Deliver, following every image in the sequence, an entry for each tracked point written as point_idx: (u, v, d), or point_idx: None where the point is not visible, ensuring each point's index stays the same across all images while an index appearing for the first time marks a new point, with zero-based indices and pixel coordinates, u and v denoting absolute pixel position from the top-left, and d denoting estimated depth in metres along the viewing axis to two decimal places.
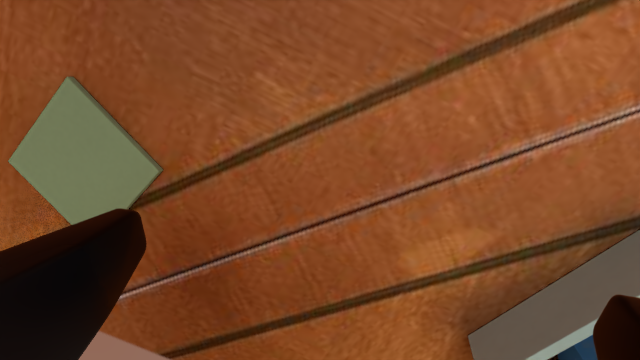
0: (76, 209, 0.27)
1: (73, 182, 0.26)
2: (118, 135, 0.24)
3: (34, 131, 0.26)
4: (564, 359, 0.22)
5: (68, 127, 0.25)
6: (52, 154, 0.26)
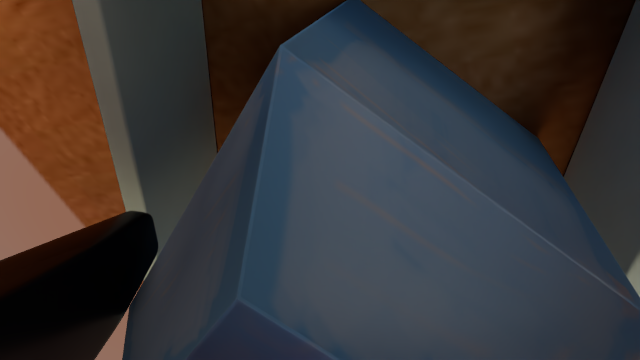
0: None
1: None
2: None
3: None
4: None
5: None
6: None
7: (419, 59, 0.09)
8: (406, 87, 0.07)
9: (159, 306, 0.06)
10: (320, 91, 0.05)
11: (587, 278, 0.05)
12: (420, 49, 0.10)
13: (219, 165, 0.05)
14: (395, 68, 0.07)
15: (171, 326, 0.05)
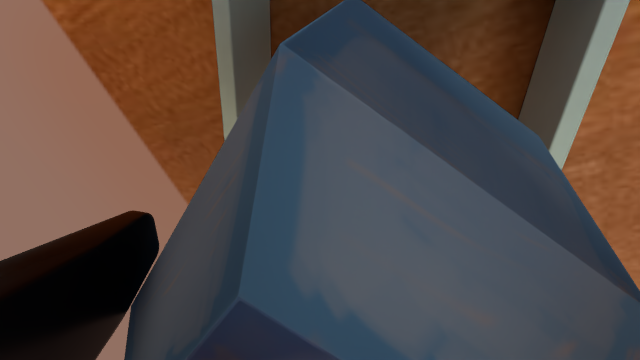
0: None
1: None
2: None
3: None
4: None
5: None
6: None
7: (419, 57, 0.09)
8: (406, 85, 0.07)
9: (161, 305, 0.06)
10: (320, 89, 0.05)
11: (588, 274, 0.05)
12: (420, 47, 0.10)
13: (220, 164, 0.05)
14: (395, 66, 0.07)
15: (173, 325, 0.05)
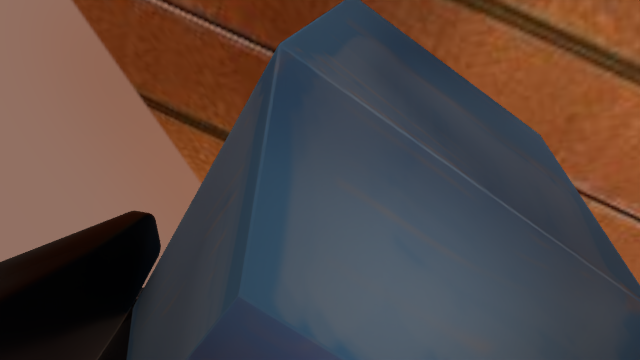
0: None
1: None
2: None
3: None
4: None
5: None
6: None
7: (419, 57, 0.09)
8: (406, 85, 0.07)
9: (162, 307, 0.06)
10: (319, 90, 0.05)
11: (591, 273, 0.05)
12: (420, 47, 0.10)
13: (220, 165, 0.05)
14: (395, 66, 0.07)
15: (174, 326, 0.05)
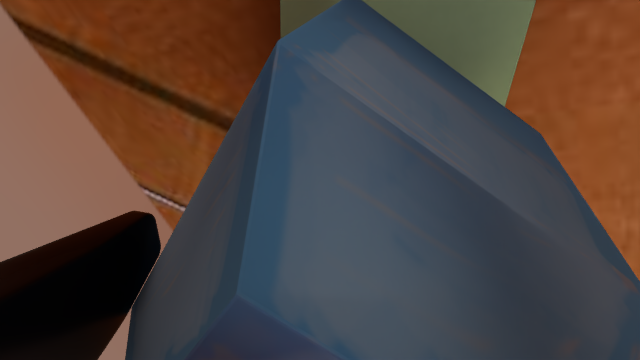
0: None
1: None
2: None
3: None
4: None
5: None
6: None
7: (419, 55, 0.09)
8: (406, 83, 0.07)
9: (161, 305, 0.06)
10: (318, 86, 0.05)
11: (591, 271, 0.05)
12: (420, 46, 0.10)
13: (219, 163, 0.05)
14: (394, 64, 0.07)
15: (172, 325, 0.05)
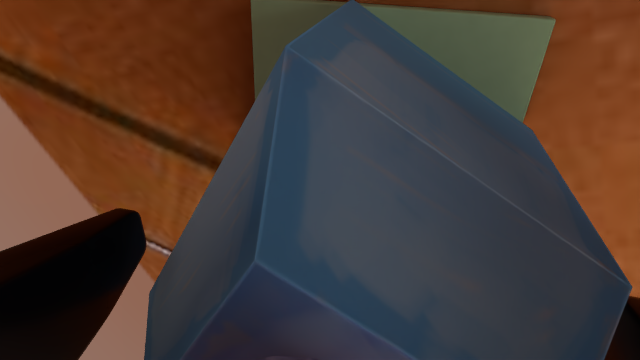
0: None
1: None
2: None
3: None
4: None
5: None
6: None
7: (415, 57, 0.09)
8: (401, 82, 0.07)
9: (180, 285, 0.06)
10: (321, 85, 0.05)
11: (570, 250, 0.06)
12: (416, 47, 0.10)
13: (232, 155, 0.06)
14: (391, 65, 0.08)
15: (194, 298, 0.05)
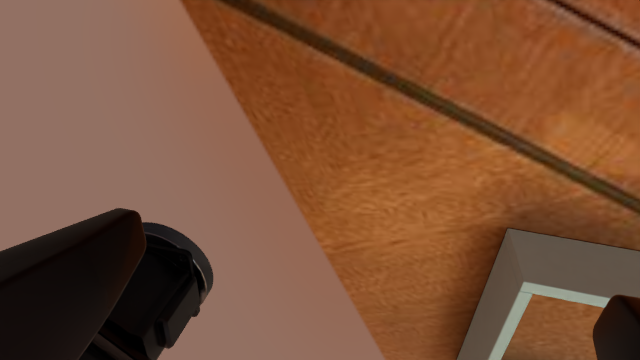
0: None
1: None
2: None
3: None
4: None
5: None
6: None
7: None
8: None
9: None
10: None
11: None
12: None
13: None
14: None
15: None
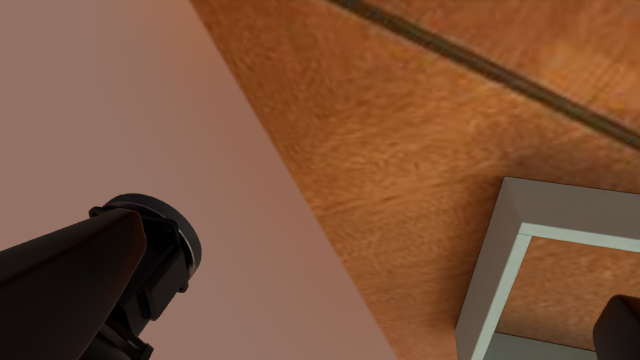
0: None
1: None
2: None
3: None
4: None
5: None
6: None
7: None
8: None
9: None
10: None
11: None
12: None
13: None
14: None
15: None
